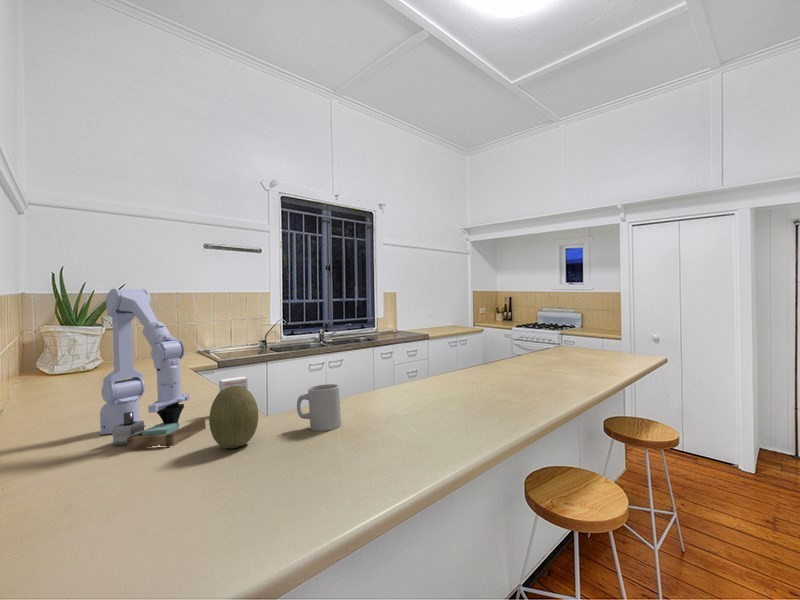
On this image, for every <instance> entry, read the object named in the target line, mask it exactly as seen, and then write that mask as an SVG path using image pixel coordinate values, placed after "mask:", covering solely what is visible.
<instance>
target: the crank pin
mask: <svg viewBox="0 0 800 600" xmlns="http://www.w3.org/2000/svg"><path fill="white" fill-rule="evenodd" d="M123 416H124V426H125V425H131V424H134V419H133V412H126V413H123Z"/></svg>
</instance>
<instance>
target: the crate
mask: <svg viewBox="0 0 800 600" xmlns="http://www.w3.org/2000/svg"><path fill="white" fill-rule="evenodd" d="M178 429H180V422H178V423H170V424H161V423H159V424H155V425H154V426H152V427H149V428H147V429H144V430H145V431H142V435H143V436H145V435H161V434H170V433H172V432H174V431H176V430H178Z"/></svg>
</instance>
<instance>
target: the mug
mask: <svg viewBox="0 0 800 600" xmlns="http://www.w3.org/2000/svg"><path fill="white" fill-rule="evenodd" d="M307 391H308V393H303V394H300V395H299V397H298V398H297V401H296V409H297V414H298V416H299V418H301V419H303V420H309V427H310V430H311V431H314V432H328V431H333V430H336V429H339V428H340V427H341V426H342V413H341V400H340V399H341V398H340V386H339V385H338V384H334V383H332V384H328V383H327V384H318V385H314V386H310V387H309V388H308V390H307ZM303 400H307V401H308V407H309V409H308V410H309V411H308V412H303V411H302V407H301V404H302V401H303Z"/></svg>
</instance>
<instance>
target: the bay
mask: <svg viewBox="0 0 800 600" xmlns="http://www.w3.org/2000/svg"><path fill="white" fill-rule="evenodd" d="M160 424H164V423H163V422H161V423H160ZM206 428H207V427H206V417H201V418H198V419H197V420H194V421H193V422H191V423H188V424H186V425H184V426H183V427H181V428H180V427H179V429H178V430H176V431H174V432H172V433H170V434H161V435H145V436H143V435H142V432H140V433H137V434H135V435H133V436H130V437H128V438H127V450H143V449H142V448H147V447H152V446H158V445H160V446H171V445H173V444H175V443H177V442H179V441H181V442H182V440H183V441H185V440H186V439H188V438H190V437H192V436H194V435H195V434H198V433H199V432H201V431H202V430H205V429H206ZM145 430H146V429H144V431H145ZM179 443H180V442H179ZM177 444H178V443H177ZM175 445H176V444H175ZM173 446H174V445H173ZM147 449H148V448H147Z"/></svg>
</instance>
